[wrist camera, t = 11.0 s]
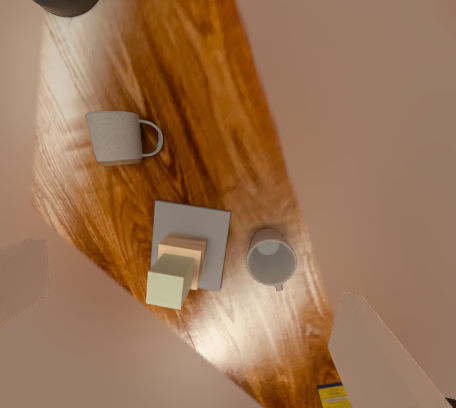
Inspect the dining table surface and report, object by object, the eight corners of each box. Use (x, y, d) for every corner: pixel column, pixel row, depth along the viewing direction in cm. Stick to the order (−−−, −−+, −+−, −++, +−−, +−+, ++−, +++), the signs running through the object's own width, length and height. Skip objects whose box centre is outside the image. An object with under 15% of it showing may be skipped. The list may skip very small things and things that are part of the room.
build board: (157, 199, 43) (155, 200, 41) (231, 211, 42) (230, 212, 41) (152, 275, 46) (149, 279, 45) (220, 287, 45) (219, 291, 44)
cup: (281, 218, 41) (289, 233, 33) (295, 267, 43) (306, 293, 34) (241, 228, 42) (239, 246, 34) (256, 276, 44) (258, 304, 36)
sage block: (164, 253, 37) (148, 271, 31) (194, 258, 36) (183, 277, 31) (162, 280, 38) (146, 303, 32) (191, 285, 38) (180, 309, 32)
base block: (171, 232, 42) (158, 244, 37) (207, 238, 42) (201, 251, 36) (168, 265, 44) (155, 282, 38) (203, 272, 43) (196, 290, 38)
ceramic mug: (113, 165, 42) (84, 167, 35) (105, 119, 40) (73, 111, 33) (168, 161, 41) (151, 162, 34) (162, 113, 40) (142, 103, 32)
